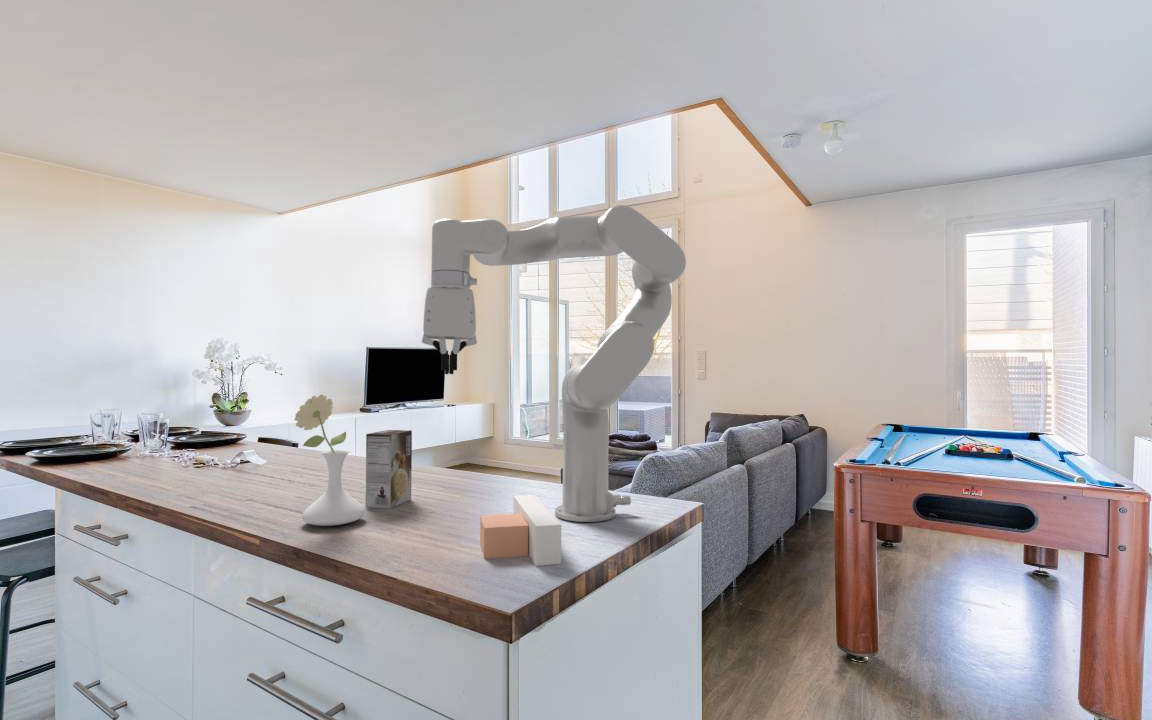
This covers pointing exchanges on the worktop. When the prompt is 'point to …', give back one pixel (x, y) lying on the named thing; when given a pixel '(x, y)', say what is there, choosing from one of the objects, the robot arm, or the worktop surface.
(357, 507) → the flower in vase
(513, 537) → the peach block
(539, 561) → the board
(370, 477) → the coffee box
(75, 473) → the worktop surface
